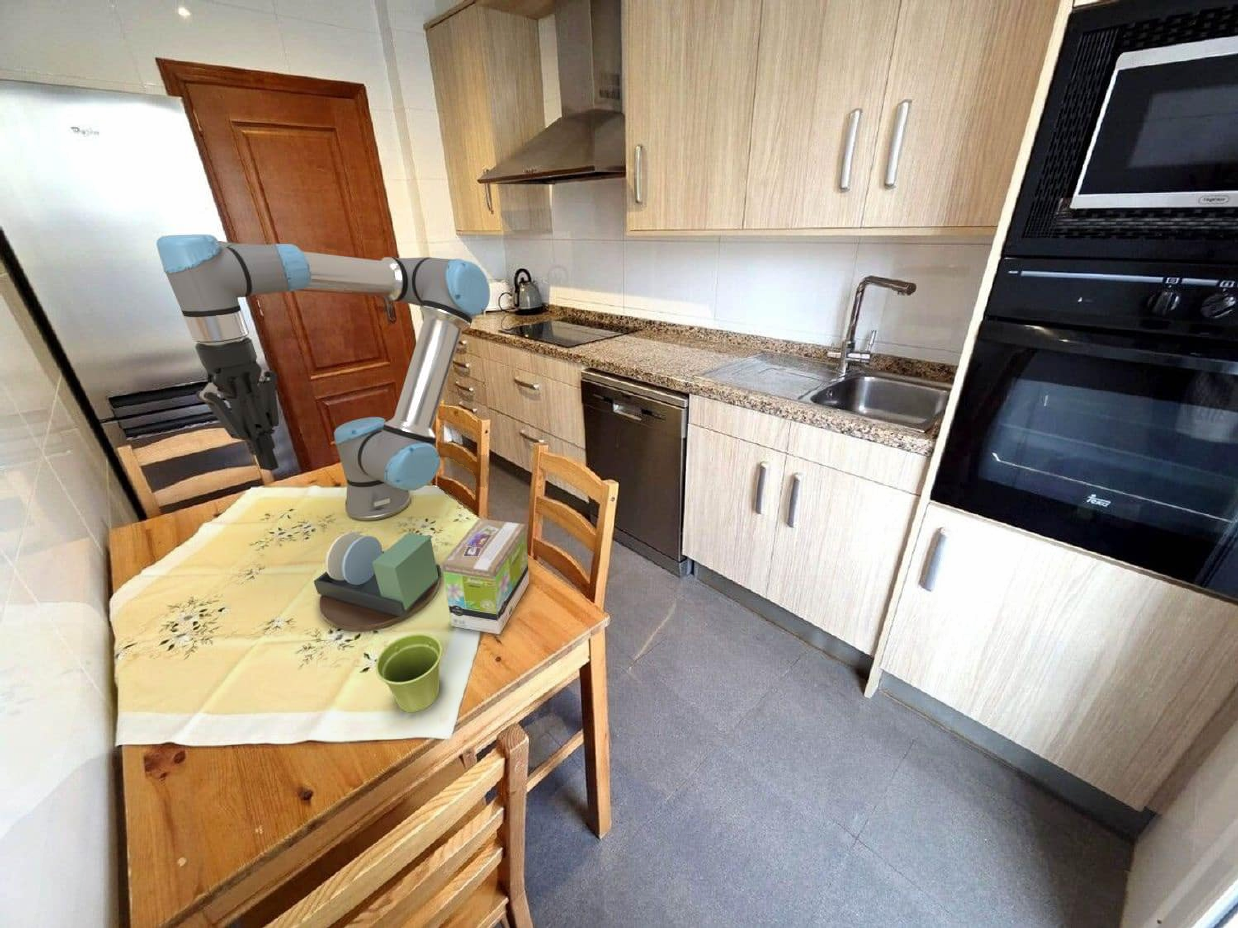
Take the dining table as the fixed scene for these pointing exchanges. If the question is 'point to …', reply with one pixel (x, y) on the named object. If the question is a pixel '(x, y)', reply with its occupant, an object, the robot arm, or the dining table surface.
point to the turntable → (365, 613)
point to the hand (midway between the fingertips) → (269, 467)
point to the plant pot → (411, 670)
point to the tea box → (486, 575)
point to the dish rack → (379, 572)
